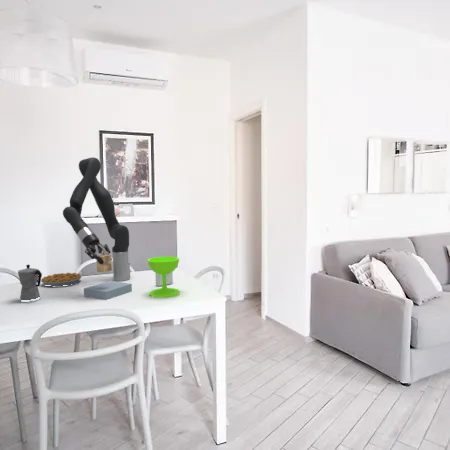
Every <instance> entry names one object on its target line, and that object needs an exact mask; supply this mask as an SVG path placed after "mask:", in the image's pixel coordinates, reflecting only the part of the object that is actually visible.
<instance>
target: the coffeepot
mask: <svg viewBox="0 0 450 450" xmlns="http://www.w3.org/2000/svg"><path fill="white" fill-rule="evenodd" d="M25 266H26V268H23V269H19V270H18V271H17V274H18V278H19V283H20V285H21V290H20V299H21V300H31V299H36V298H38V297H40V298H41V295H40V291H39V287H40V286H41V283H42V282H41V280H42V278H43V277H42V275H43V273H42V272H41V271H40V270H39V268H32V267H31V264H26V265H25ZM20 299H19V300H20Z"/></svg>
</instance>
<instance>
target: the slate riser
mask: <svg viewBox="0 0 450 450" xmlns="http://www.w3.org/2000/svg"><path fill="white" fill-rule="evenodd" d="M132 285H133V284H132V283H127V282H123V281H114V280H113V281H112V280H108V281H105V282H101V283H97V284H94V285H90V286H87V287H84V288H83V296H84V297H88V298H94V299H101V300H110V299H113V298H115V297H118V296H122V295H125V294H127V293H131V292H133V287H132Z"/></svg>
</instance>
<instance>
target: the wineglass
mask: <svg viewBox="0 0 450 450" xmlns="http://www.w3.org/2000/svg"><path fill="white" fill-rule="evenodd" d="M147 262H148V266H149V268H150V269H151V271H152V272H153V273H154V274H155V273H157V274H160V275H162V282H163V285H162V286H161V287H160V288H156V289H152V290H151V291H150V292H149V294H148V295H149V296H150V295H151V296H150V297H152V296H153V297H152V298H158V297H165V298H172V297H176V296H178V295H180V293H181V291H180V289H178V288H175V287H174V288H173V287H167V285H166V274H169V273H171V272H172V273H173V272H175V270H176V269H177V267H178V266H179V262H180V257H176V256H156V257H151V258H150V257H149V258H148V259H147Z"/></svg>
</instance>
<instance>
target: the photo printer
mask: <svg viewBox="0 0 450 450" xmlns="http://www.w3.org/2000/svg"><path fill="white" fill-rule="evenodd" d="M154 274H155V285H156V286H157V287H163V282H162V275H160V274H157V273H155V272H154ZM173 275H174V274H173V272H171V273H169V274H166V286H167V285H171V284H173V283H174V279H173V278H174V277H173Z"/></svg>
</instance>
